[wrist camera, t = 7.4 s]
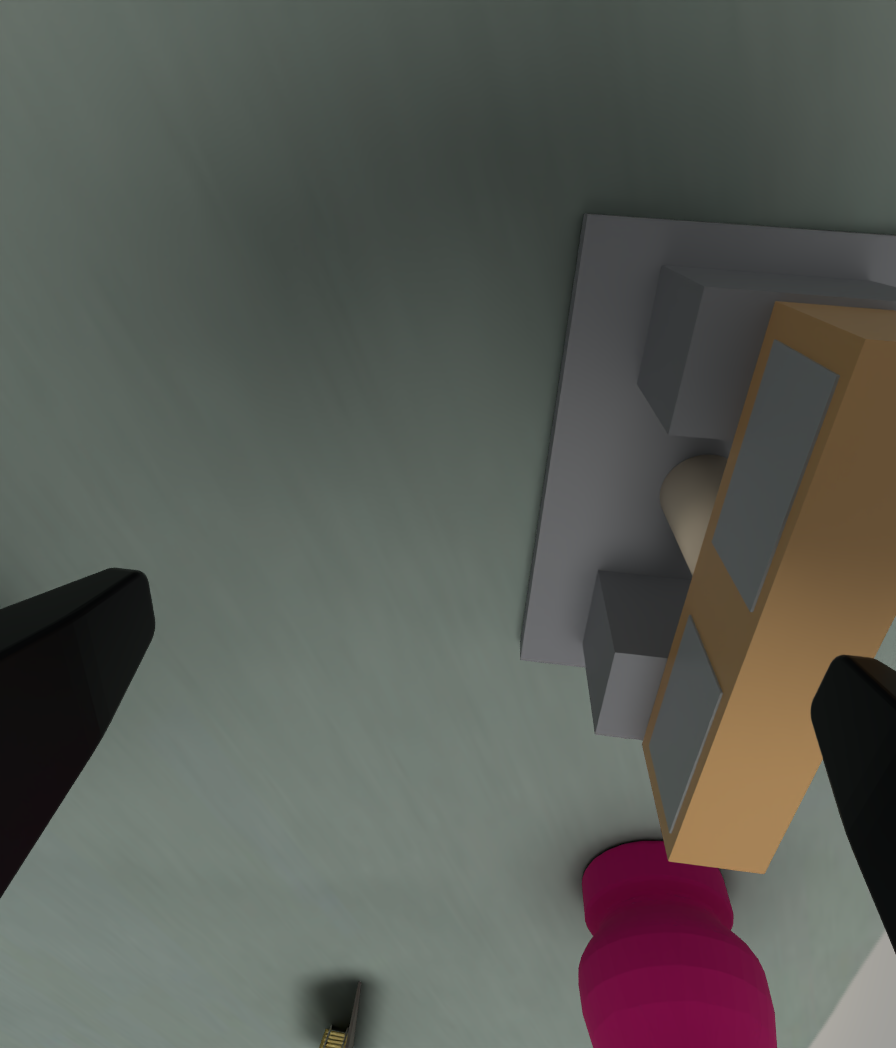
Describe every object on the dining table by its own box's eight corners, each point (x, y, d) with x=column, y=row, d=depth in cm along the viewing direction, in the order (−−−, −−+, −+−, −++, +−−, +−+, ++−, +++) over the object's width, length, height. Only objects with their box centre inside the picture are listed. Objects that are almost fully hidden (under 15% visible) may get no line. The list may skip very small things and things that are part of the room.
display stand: (773, 670, 22) (836, 789, 18) (520, 641, 22) (520, 750, 18) (949, 238, 15) (1123, 257, 11) (583, 213, 16) (608, 220, 11)
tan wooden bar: (722, 754, 17) (766, 874, 14) (640, 743, 18) (665, 861, 14) (897, 310, 12) (1032, 352, 9) (772, 301, 12) (861, 338, 9)
